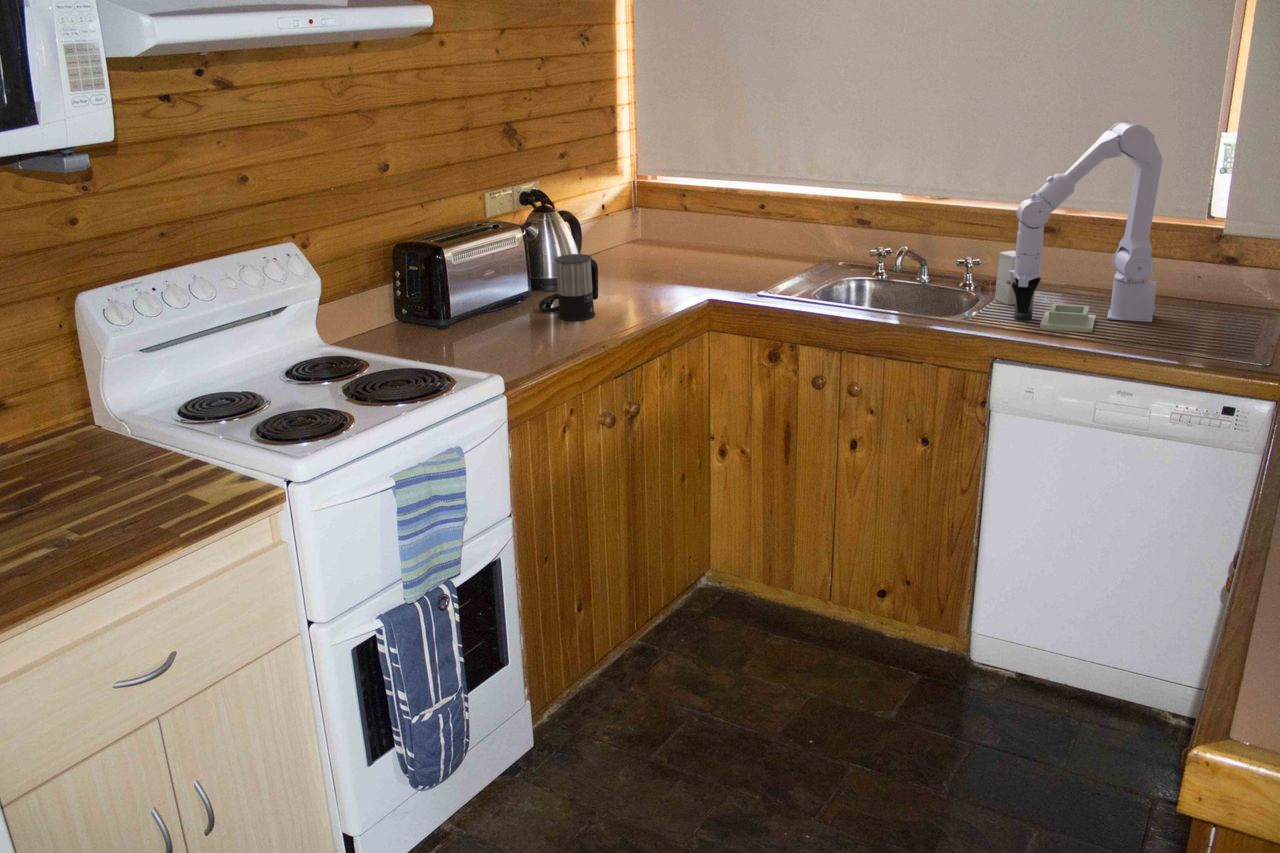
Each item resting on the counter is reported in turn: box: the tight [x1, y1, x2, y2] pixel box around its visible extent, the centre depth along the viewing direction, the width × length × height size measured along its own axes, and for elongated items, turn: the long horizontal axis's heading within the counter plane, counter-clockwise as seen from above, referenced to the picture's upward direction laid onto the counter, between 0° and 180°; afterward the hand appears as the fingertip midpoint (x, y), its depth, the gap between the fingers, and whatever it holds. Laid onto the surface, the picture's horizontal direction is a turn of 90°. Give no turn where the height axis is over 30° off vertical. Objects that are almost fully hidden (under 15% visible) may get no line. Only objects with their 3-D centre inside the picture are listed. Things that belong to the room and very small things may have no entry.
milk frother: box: [538, 253, 599, 322], centre depth 280 cm, size 14×16×15 cm
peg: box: [1013, 290, 1036, 322], centre depth 262 cm, size 4×4×7 cm
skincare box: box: [994, 250, 1016, 306], centre depth 276 cm, size 6×4×12 cm
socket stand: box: [1039, 303, 1097, 334], centre depth 257 cm, size 11×12×4 cm
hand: (1023, 310), depth 263 cm, fingers closed on peg, 4 cm apart
